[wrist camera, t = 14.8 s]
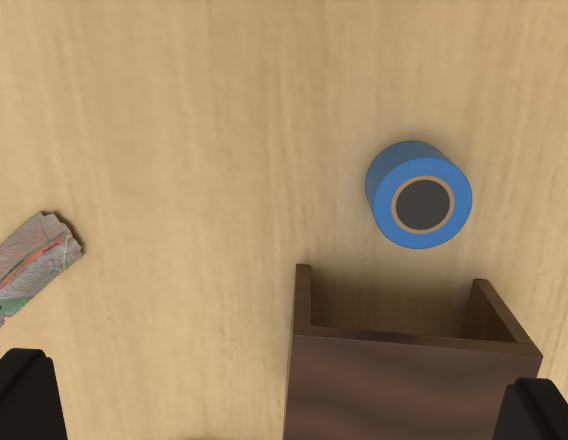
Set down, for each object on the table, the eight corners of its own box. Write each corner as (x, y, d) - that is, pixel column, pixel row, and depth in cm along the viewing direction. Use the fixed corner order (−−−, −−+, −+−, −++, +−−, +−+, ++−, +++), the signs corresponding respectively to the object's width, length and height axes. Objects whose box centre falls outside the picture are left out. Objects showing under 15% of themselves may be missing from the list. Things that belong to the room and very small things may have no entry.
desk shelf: (296, 263, 40) (291, 349, 29) (488, 279, 39) (555, 371, 29) (286, 379, 44) (279, 489, 33) (458, 394, 44) (507, 510, 33)
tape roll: (371, 137, 36) (380, 153, 31) (459, 144, 35) (483, 161, 31) (359, 219, 38) (367, 245, 33) (442, 226, 38) (461, 253, 33)
